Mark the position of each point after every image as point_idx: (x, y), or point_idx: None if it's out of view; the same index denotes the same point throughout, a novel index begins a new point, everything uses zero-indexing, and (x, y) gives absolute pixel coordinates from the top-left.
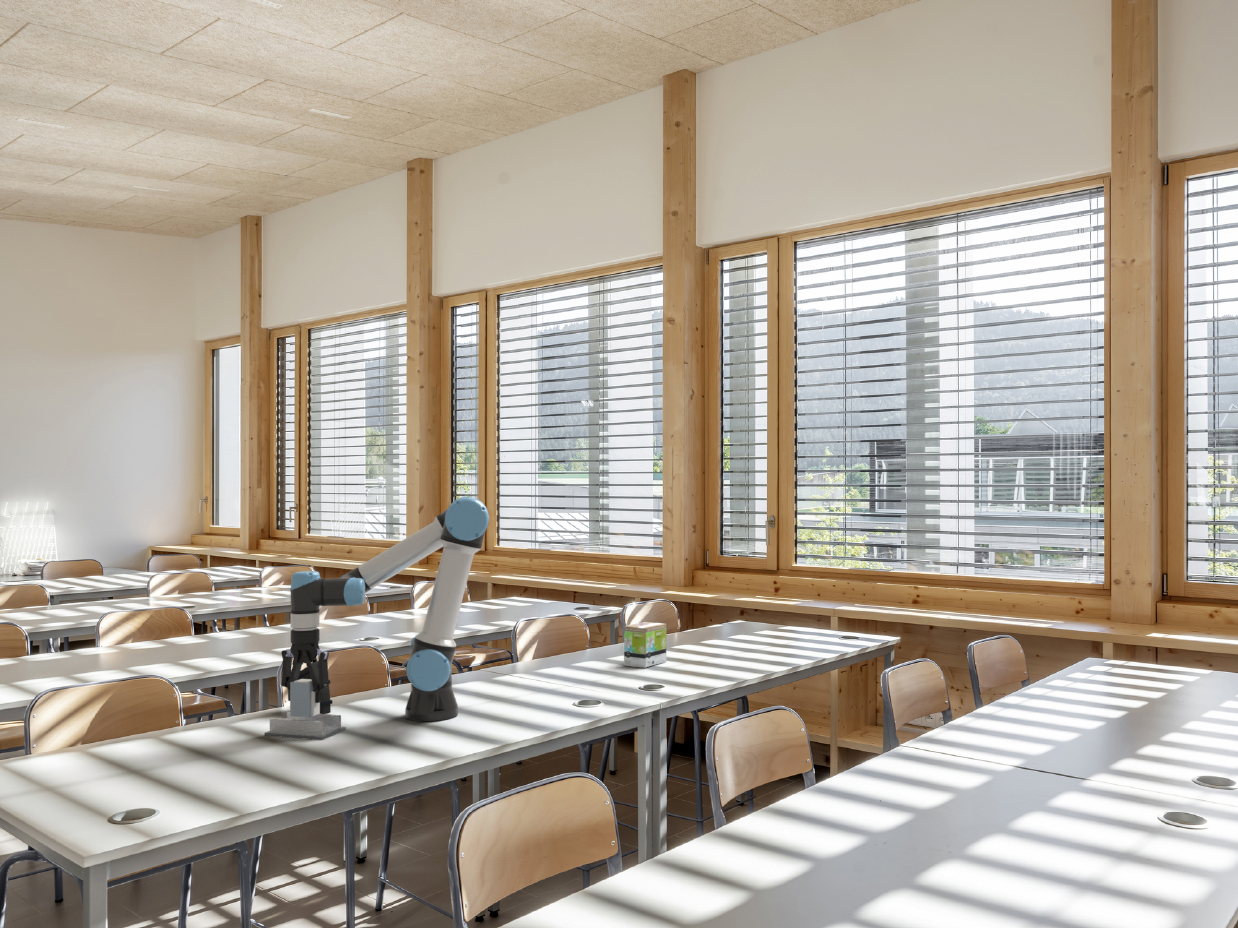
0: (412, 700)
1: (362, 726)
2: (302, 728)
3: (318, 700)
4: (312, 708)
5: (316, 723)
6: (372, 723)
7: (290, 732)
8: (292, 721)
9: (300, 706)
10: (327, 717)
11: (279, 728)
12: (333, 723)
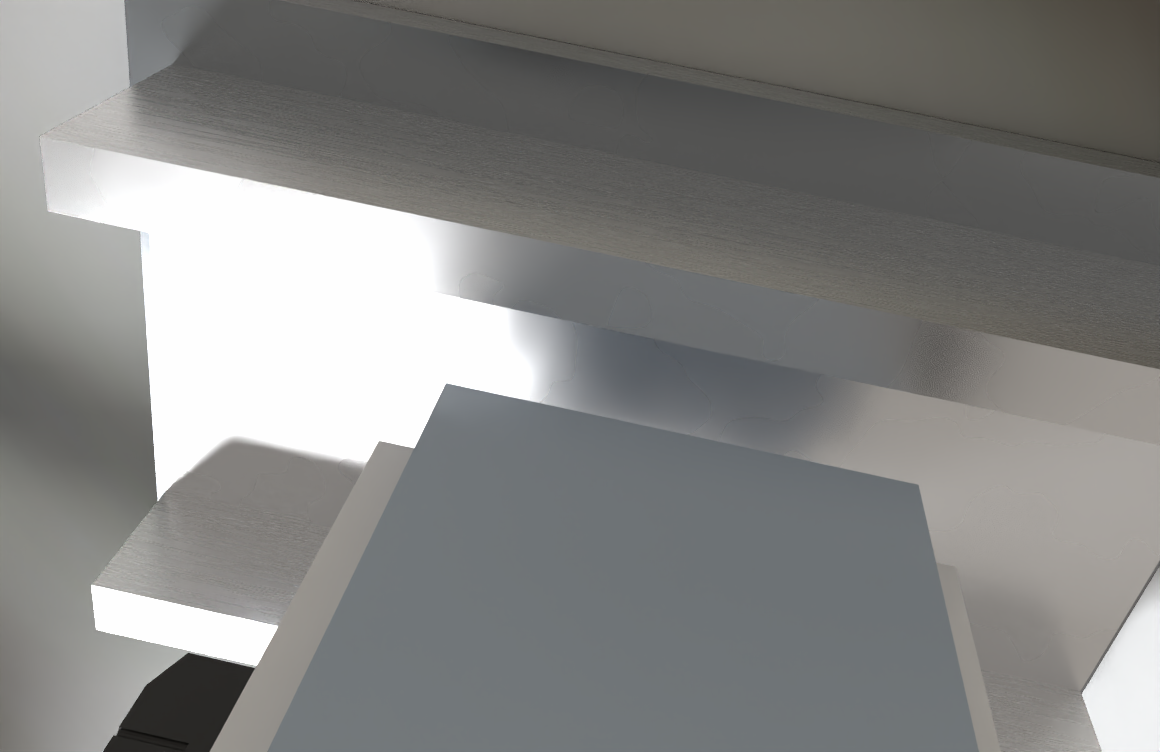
0: None
1: (89, 644)
2: (563, 182)
3: (158, 699)
4: (363, 543)
5: (203, 153)
6: (69, 743)
7: (828, 203)
8: (789, 276)
9: (642, 572)
10: None
11: (1078, 273)
12: (251, 522)
